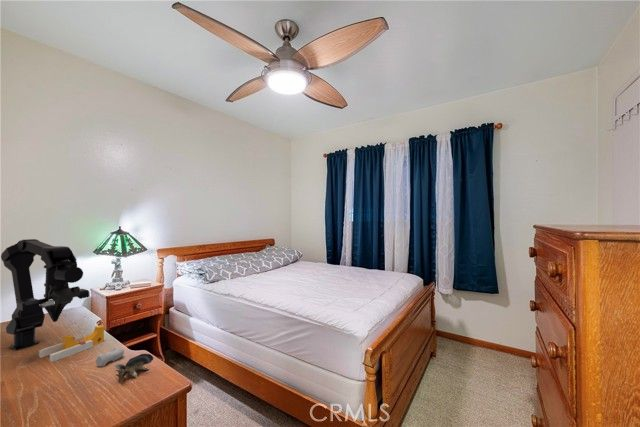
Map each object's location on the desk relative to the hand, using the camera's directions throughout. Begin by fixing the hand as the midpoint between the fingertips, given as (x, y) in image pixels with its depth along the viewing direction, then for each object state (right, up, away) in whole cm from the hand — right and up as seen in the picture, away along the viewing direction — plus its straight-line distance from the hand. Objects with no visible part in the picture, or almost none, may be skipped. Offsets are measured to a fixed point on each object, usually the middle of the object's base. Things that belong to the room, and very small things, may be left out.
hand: (54, 321), depth 98 cm
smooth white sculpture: (+26, -12, -6) cm, 29 cm away
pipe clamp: (+6, -12, +5) cm, 15 cm away
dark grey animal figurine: (+40, -12, -14) cm, 44 cm away
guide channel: (+4, -12, +1) cm, 12 cm away
